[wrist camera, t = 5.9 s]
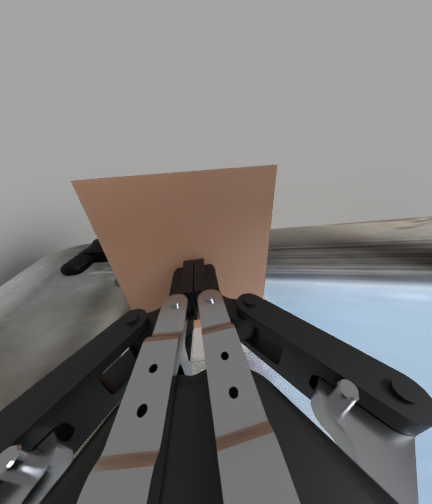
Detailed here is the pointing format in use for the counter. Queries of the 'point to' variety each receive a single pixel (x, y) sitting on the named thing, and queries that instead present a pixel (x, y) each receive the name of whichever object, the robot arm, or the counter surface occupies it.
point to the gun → (85, 260)
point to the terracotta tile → (183, 228)
